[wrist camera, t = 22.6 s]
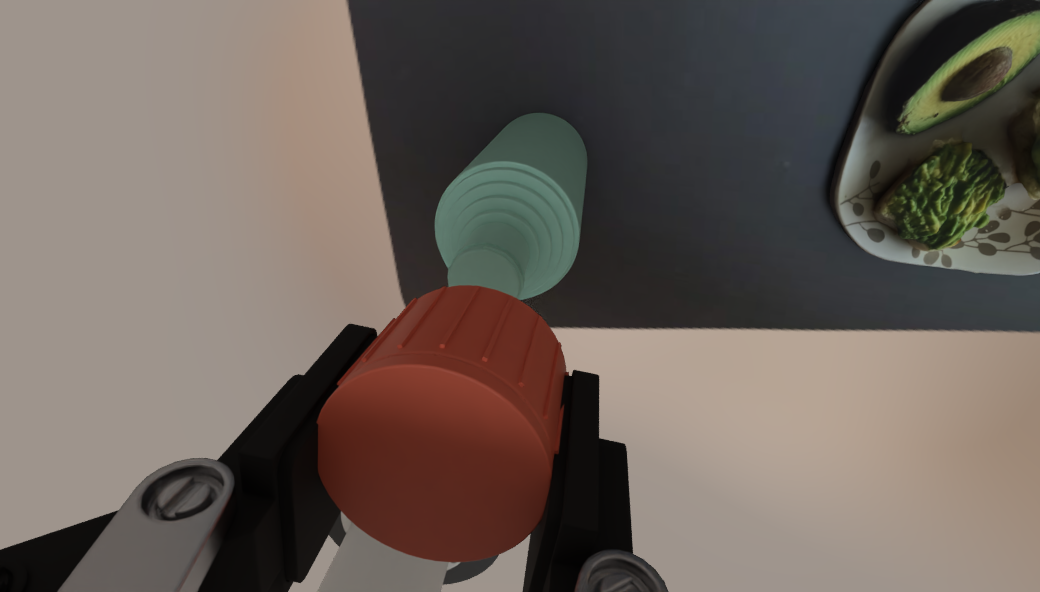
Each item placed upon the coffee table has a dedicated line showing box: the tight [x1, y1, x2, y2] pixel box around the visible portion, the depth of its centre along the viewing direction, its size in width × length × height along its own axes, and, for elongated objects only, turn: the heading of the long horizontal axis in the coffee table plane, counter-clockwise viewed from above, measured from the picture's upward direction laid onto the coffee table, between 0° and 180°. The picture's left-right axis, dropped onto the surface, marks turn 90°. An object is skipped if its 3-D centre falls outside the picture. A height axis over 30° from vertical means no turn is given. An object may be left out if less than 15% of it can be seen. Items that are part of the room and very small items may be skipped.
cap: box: [316, 285, 569, 562], centre depth 10 cm, size 4×4×3 cm
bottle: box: [435, 113, 587, 300], centre depth 27 cm, size 6×6×19 cm
